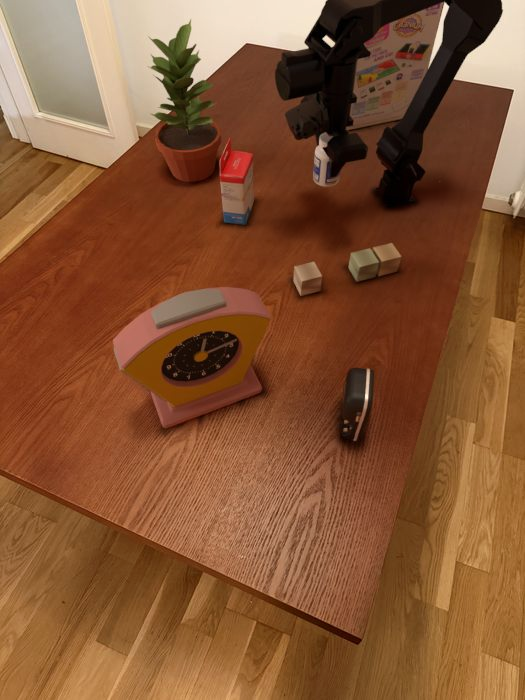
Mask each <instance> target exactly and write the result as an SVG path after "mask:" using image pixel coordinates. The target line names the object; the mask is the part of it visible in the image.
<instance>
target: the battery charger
mask: <svg viewBox="0 0 525 700" xmlns="http://www.w3.org/2000/svg"><path fill="white" fill-rule="evenodd" d="M374 387H375V371H374V370H373V369H370V368H362V367H352V368H350V369H348V371H347V373H346V375H345V379H344V382H343V388H342V396H341V397H342V399H341V406H340V414H341V423H340V424H341V425H340V435H341V437H342V438H344V439H346V440H349V441H353V442H360V441H361V440H362V438H363V434H364V432H365V428H366V426H367V423H368V420H369V418H370V414H371V411H372V407H373V402H374V401H373V400H374Z"/></svg>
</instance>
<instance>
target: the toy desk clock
mask: <svg viewBox="0 0 525 700" xmlns="http://www.w3.org/2000/svg"><path fill="white" fill-rule="evenodd" d="M271 320H272V316H271V314H270V313H269V311H268V309H267V307H266V306H265V304H264V302H263V301H262V298H261V297H260V295H259V293H258V292H257V291H253V290H249V289H246V288H242V287H241V288H240V287H234V286H233V287H232V286H219V287H217V286H216V287H206V288H202V289H195V290H189V291H185V292H182V293H180V294H177V295H174V296H173V297H170V298H168V299H166V300H163V301H161V302H159V303H157V304H155V305H154V306H152V307H150V308H149V309H147V310H145V311H143V312H142V313H140V314H139V315H138V316H137V317H135V319H134V318H133V320H132V321H130V322H129V323H128V324H127V325H126V326H125V327H123V328H122V329H121V331H120V332H119V333H118V334H117V335H116V336H115V337H114V338H113V339H112V344H113V353H114V356H115V358H116V359H115V360H116V362H117V366H118V368H119V371H121V372H122V373H123V374H125V375H126V376H128V378H131V379H132V380H133V381H135V382H136V383H137V384H139V385H141V386H143V388H145V389H146V390H147V391H149V393H150V395H151V398H152V401H153V404H154V406H155V409H156V412H157V415H158V417H159V421H160V424H161V427H162V428H164V429H169V428H171V427H173V426H176V425H179V424H181V423H185V422H187V421H189V420H192V419H194V418H197V417H200V416H203V415H205V414H208V413H211V412H214V411H216V410H218V409H221V408H223V407H226V406H229V405H231V404H234V403H237V402H239V401H242V400H245V399H247V398H250V397H253V396H255V395H258V394H260V393H261V392H262V391H263V386H262V384H261V381H259V378H258V376H257V374H256V373H255V370H254V368H253V367H252V364H251V363H252V361H253V359H254V356H255V354H256V352H257V350H258V348H259V346H260V343H261V341H262V340H263V337H264V334H265V332H266V331H267V328H268V327H269V324H270V322H271Z"/></svg>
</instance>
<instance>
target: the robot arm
mask: <svg viewBox="0 0 525 700" xmlns="http://www.w3.org/2000/svg"><path fill="white" fill-rule="evenodd" d="M442 2H445V3H444V4H446V5H447V6H448V9H447V11H446V13H445V17H444V19H443V24H442V25H443V26H442V38H441V43H440V45H439V47H438V49H437V51H436V53H435V55H434V56H433V59H432V61H431V63H429V67H428V70H427V72H426V74H425V76H424V78H423V80H422V82H421V84H420V86H419V88H418V89H417V91H416V93H415V95H414V97H413V99H412V101H411V103H410V105H409V107H408V109H407V111H406V113H405V114H404V116H403V118H402V119H400V120H399V122H397V123H396V124H395V125H393V126H392V127H391V126H386V127H385V128H384V129H383V131H382V135H381V137H380V138H379V140H378V141H377V142H376V146H377V147H376V150H375V154H376V156H377V159H378V160H379V161H380V164H381V165H382V166H383V167H385V169H384V170H383V173H382V177H381V178H380V180H379V184H378V187H376V188H375V193H376V194H377V195H378V197H379V198H380V199H381V201H382V202H383V203H384V205H385V206H386V207H387V208H393V207H399V206H402V205H403V206H404V205H407V204H411V203H414V202H415V198H414V197H413V195H412V193H413V190H414V187H415V184H416V183H417V182H420V181H421V180H422V179H423V177H424V176H425V174H426V170H425V169H424V168H423V167H422V166H421V164H419V159H420V157H421V155H422V153H423V149H424V148H423V146H424V133H425V131H426V129H427V128H428V126H429V124H430V122H431V120H432V119H433V117H434V115H435V113H436V112H437V110H438V108H439V106H440V104H441V103H442V101H443V99H444V98H445V96H446V94H447V92H448V91H449V88H450V86H451V85H452V83H453V82H454V79H455V77H456V76H457V75H458V72H459V71H460V69H461V68H462V66H463V64H464V62H465V60H466V58H467V57H468V55H469V54H471V53H472V52H473V51H475V50H476V49H477V48H479V47H480V46H481V45H483V44H484V43H485V42H486V41H487V40H488V38H489V36H490V35H491V34H492V32H493V31H494V29H495V28H496V27H497V25H498V24H499V22H500V21H501V20H500V19H501V18H502V16H503V12H504V9H503V1H502V0H325V2H324V6H323V7H322V9H321V11H320V14H319V16H318V18H317V20H316V21H315V22H314V25H313V26H312V27H311V29H310V31H309V33H308V34H307V36H306V38H304V39H305V40H304V45H306V46H307V47H308V48H304V49H299V50H287V51H282V52H281V55H280V57H281V59H280V60H279V61H278V62H277V64H276V68H275V70H274V80H275V86H276V90H277V93H278V95H279V98H280V99H281V100H282V101H284V102H285V101H291V100H295V99H299V98H302V99H301V100H300V102H299V104H297V105H295V106H294V107H292V108H290V109H288V110H287V111H286V112H285V113H284V117H285V119H286V122H287V125H288V128H289V131H290V132H291V134H292V136H293V137H294V139H295V140H296V141H301V140H303V139H304V140H308V139H310V138H312V137H314V136H315V141H316V147H317V146H318V145H319V138H320V135H321V134H323V133H325V132H326V133H327V135H328V136H334V137H332V138H331V139H330V140H329V141H328V142H327V147H323V150H324V151H325V153H326V155H327V156H328V157H329V169H330V177H336V176H337V174H338V173H339V172H340V170H341V171H342V169H343V168H344V167H345V165H346V164H347V163H353V162H357V161H362V160H366V158H367V157H368V152H369V151H368V150H369V146H368V145H367V143H366V142H365V140H364V139H363V138H362V136H361V135H360V134H359V133H358V132H352V133H349V131H348V130H346V127H349V126H353V122H354V120H353V119H352V117H351V116H350V112H351V104H353V103H356V102H357V96H356V95H355V94H354V92H353V90H354V83H355V76H356V68H357V61H358V59H361V58H366V57H369V56H370V55H371V52H370V51H369V50H368V49H367V48H366V47H365V45H364V43H366V42H367V41H369V40H371V39H372V38H373V37H374V36H375V34H376V33H377V32H378V31H379V29H380V28H382V27H383V26H385V25H387V24H389V23H392V22H394V21H397V20H399V19H402V18H404V17H407V16H409V15H412V14H414V13H417V12H419V11H422V10H424V9H427V8H430V7H432V6H435V5H437V4H440V3H442ZM325 37H327V38H329V39H330V40H331V41H332V42H333V43H334V44H333V46H331V45H330V44H329V43H327V41H325V40H324V39H325Z"/></svg>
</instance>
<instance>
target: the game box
mask: <svg viewBox="0 0 525 700" xmlns="http://www.w3.org/2000/svg"><path fill="white" fill-rule="evenodd" d="M445 4H446V3H445V2H442V3H440V4H437V5H435V6H432V7H430V8H427V9H424V10H422V11H419V12H417V13H414V14H412V15H409V16H407V17H404V18H402V19H399V20H397V21H394V22H392V23H389V24H387V25H385V26H383V27H382V28H380V29H379V31H378V32H377V33H376V34H375V36H374V37H373V38H372V39H371V40H369V41H367V42H366V43H364V45H365V47H366V48H367V49H368V50H369V51H370V52H371V55H370V56H369V57H366V58H361V59H358V61H357V68H356V76H355V83H354V90H353V92H354V94H355V95H356V96H357V102H356V103H353V104H351V112H350V116H351V117H352V119H353V120H354V122H353V126H349V127H346V130H347V131H352V130H357V129H361V128H366V127H370V126H376V125H380V124H381V125H382V124H385V123H386V124H387V123H390V122H395V121H401V120H402V118H403V116H404V114H405V113H406V111H407V109H408V107H409V105H410V103H411V101H412V99H413V97H414V95H415V93H416V91H417V89H418V88H419V86H420V84H421V82H422V80H423V78H424V76H425V74H426V72H427V70H428V68H429V66H430V64H431V63H430V62H431V58H432V55H433V50H434V46H435V41H436V37H437V34H438V31H439V26H440V21H441V17H442V14H443V10H444V6H445Z"/></svg>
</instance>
